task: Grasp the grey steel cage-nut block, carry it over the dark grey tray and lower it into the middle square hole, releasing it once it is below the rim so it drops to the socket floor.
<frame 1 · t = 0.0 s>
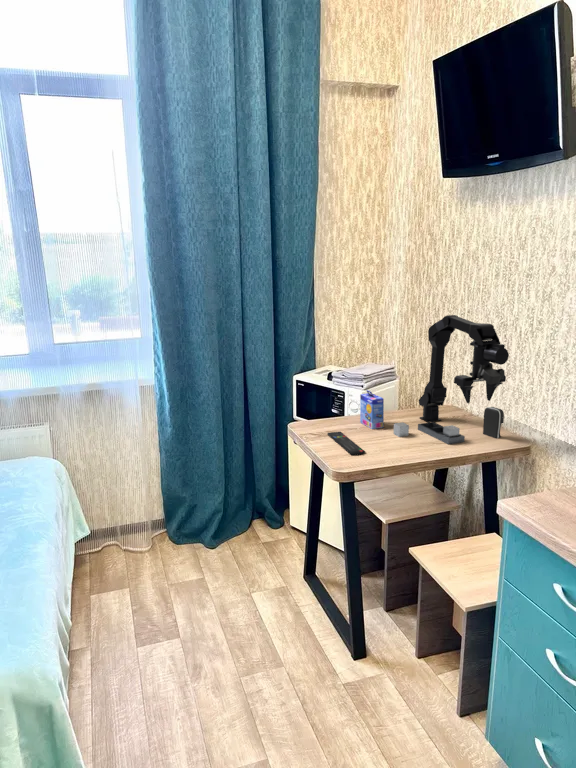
hand: (478, 401, 208), 15 cm above the table, fingers open, 9 cm apart
dark grey tray: (440, 437, 215), on the table
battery: (492, 437, 215), on the table
remote control: (345, 446, 209), on the table
seated nut: (450, 440, 209), point 1 cm above the table, touching dark grey tray
cage nut: (400, 437, 216), on the table
ink cartridge box: (371, 425, 231), on the table
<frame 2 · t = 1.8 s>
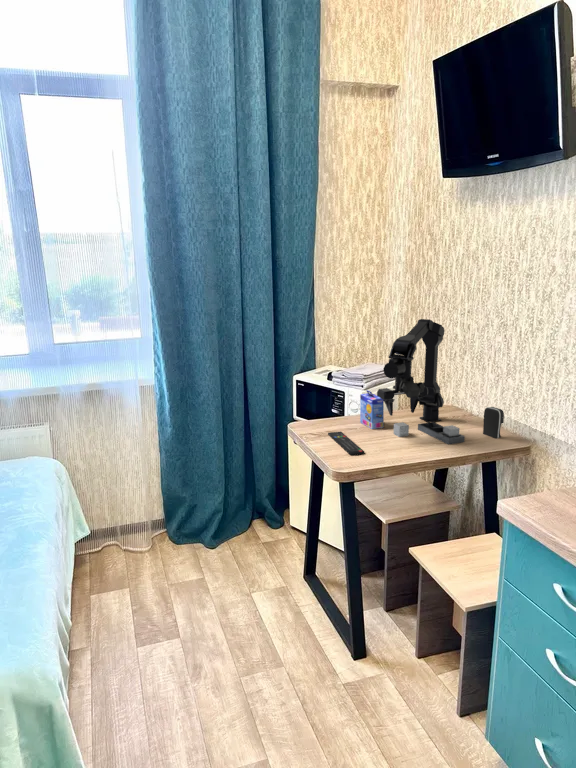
hand: (401, 414, 214), 9 cm above the table, fingers open, 9 cm apart
nothing on the table moved.
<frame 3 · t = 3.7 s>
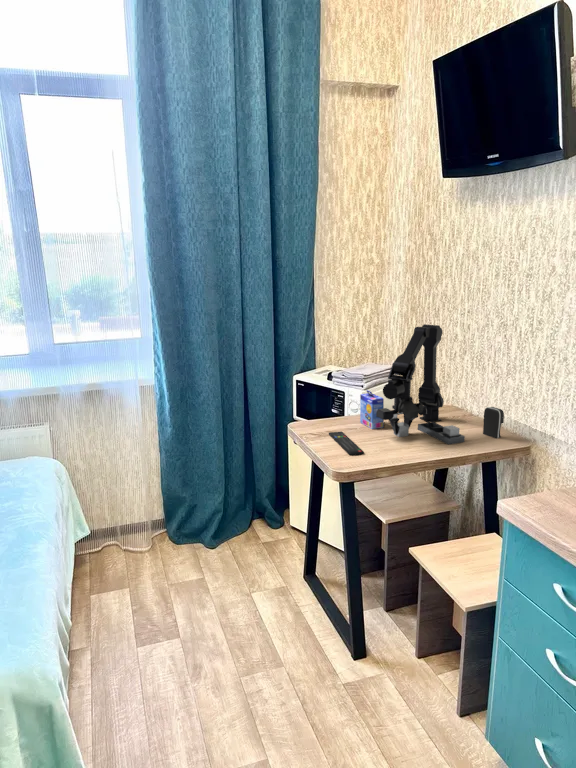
hand: (400, 433, 216), 1 cm above the table, fingers closed on cage nut, 4 cm apart
cage nut: (400, 436, 216), on the table, touching gripper
everything else where it was.
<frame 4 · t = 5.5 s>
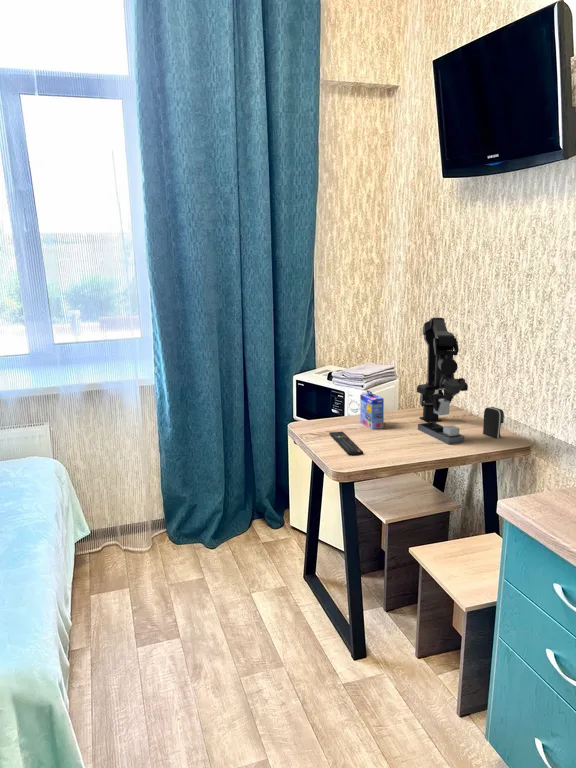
hand: (441, 410, 213), 11 cm above the table, fingers closed on cage nut, 4 cm apart
cage nut: (441, 413, 213), point 9 cm above the table, touching gripper
everything else where it was.
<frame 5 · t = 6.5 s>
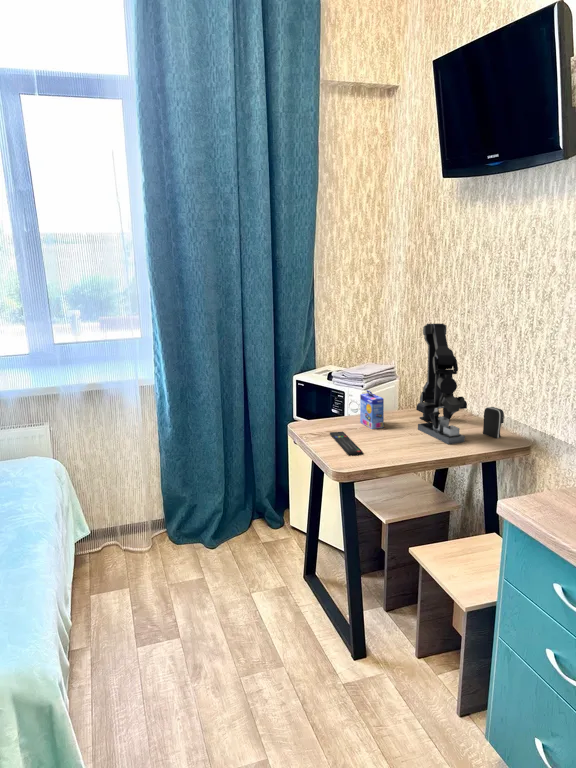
hand: (440, 427, 214), 4 cm above the table, fingers closed on cage nut, 4 cm apart
cage nut: (440, 431, 214), point 3 cm above the table, touching gripper
everything else where it was.
when the fingers open (3 cm above the table, at t = 7.3 s): cage nut drops 1 cm, resting on dark grey tray.
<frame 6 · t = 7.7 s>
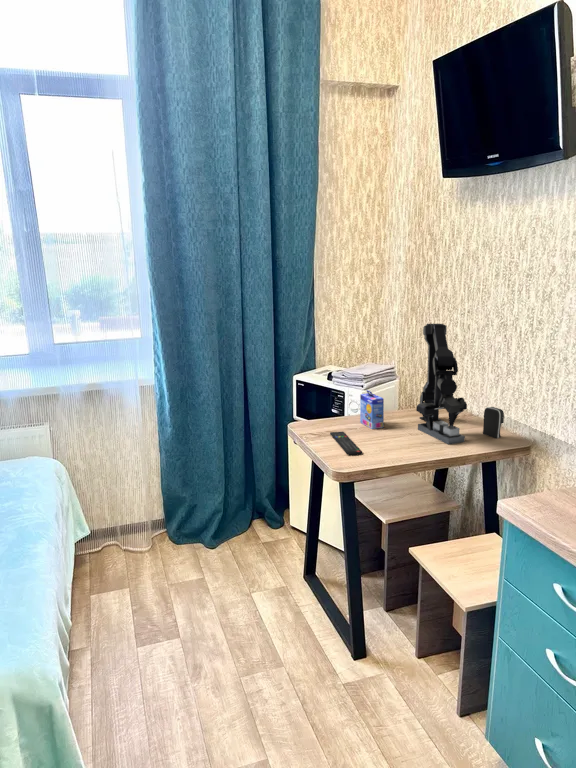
hand: (440, 428, 214), 3 cm above the table, fingers open, 9 cm apart
cage nut: (440, 435, 215), point 1 cm above the table, touching dark grey tray
everything else where it was.
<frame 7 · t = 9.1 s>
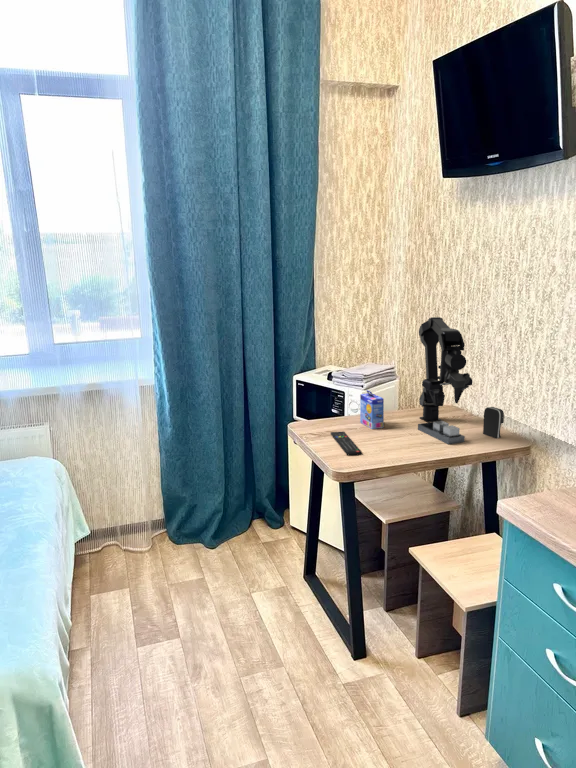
hand: (446, 404, 217), 12 cm above the table, fingers open, 9 cm apart
nothing on the table moved.
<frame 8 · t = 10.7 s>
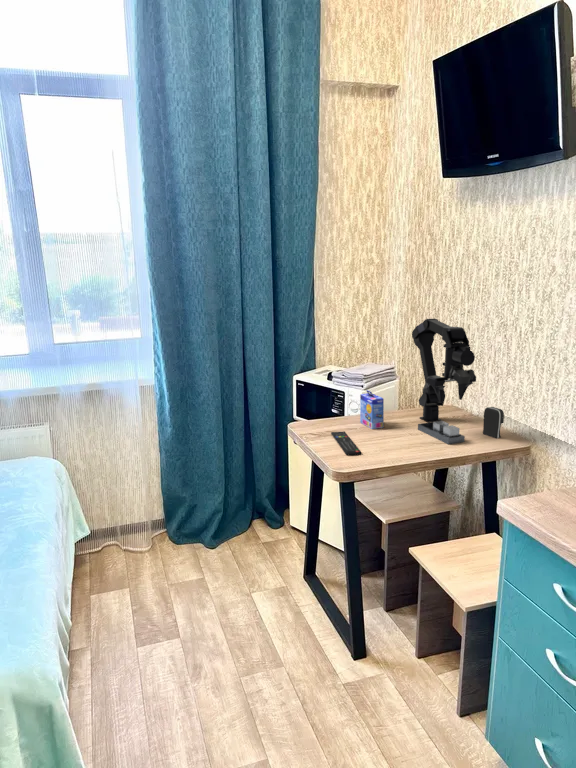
hand: (450, 400, 220), 12 cm above the table, fingers open, 9 cm apart
nothing on the table moved.
at the end: cage nut 0.0 cm off-centre on the dark grey tray, point 0.8 cm above the dark grey tray's base; the gripper is holding nothing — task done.
